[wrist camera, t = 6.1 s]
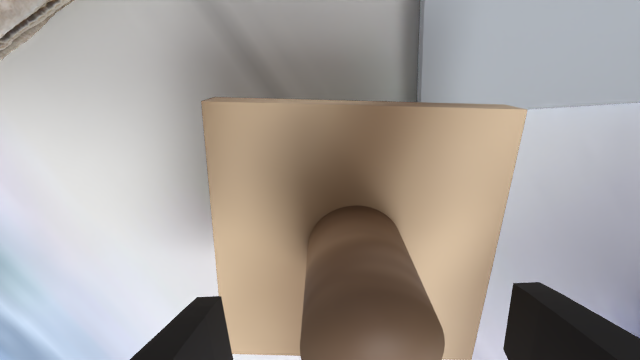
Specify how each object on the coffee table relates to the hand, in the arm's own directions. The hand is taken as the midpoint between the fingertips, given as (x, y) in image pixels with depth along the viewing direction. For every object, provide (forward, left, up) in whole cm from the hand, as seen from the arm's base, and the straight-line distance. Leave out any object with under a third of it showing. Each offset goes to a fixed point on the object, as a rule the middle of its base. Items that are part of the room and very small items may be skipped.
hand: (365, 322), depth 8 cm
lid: (0, -1, -4) cm, 4 cm away
